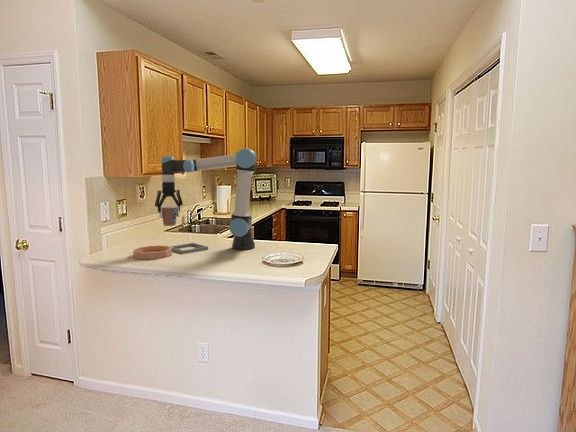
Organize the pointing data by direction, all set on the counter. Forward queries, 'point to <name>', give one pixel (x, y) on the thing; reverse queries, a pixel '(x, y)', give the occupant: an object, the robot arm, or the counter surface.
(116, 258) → the counter surface
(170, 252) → the terracotta bowl
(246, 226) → the robot arm
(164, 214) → the coffee cup
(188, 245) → the tray
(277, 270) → the counter surface
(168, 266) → the counter surface
